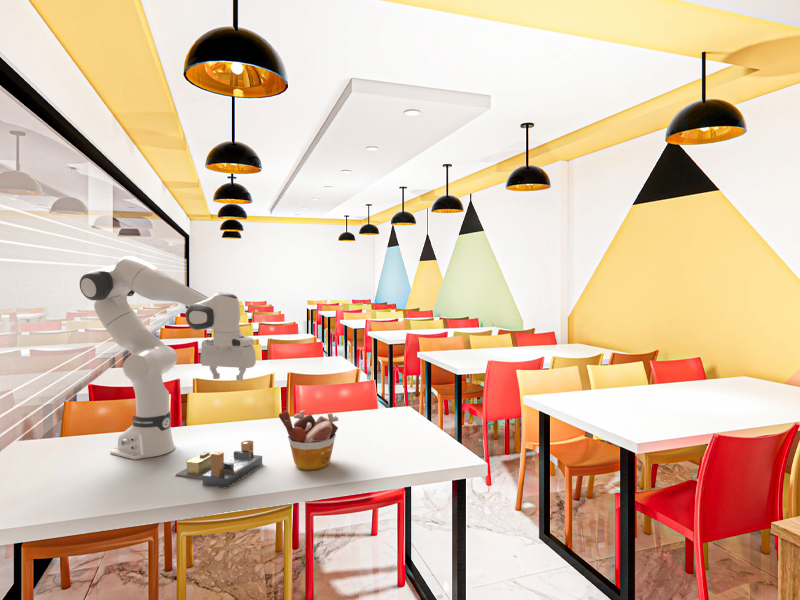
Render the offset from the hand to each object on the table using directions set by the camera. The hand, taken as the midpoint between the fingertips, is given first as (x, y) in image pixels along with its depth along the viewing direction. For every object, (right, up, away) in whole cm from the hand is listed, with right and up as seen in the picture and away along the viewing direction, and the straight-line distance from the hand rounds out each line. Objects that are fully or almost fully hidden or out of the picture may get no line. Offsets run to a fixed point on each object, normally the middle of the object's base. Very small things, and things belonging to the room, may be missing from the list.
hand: (228, 379), depth 170 cm
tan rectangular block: (-7, -29, -5) cm, 31 cm away
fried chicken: (+29, -30, 0) cm, 41 cm away
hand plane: (+5, -30, -7) cm, 31 cm away
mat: (-7, -30, -5) cm, 31 cm away
